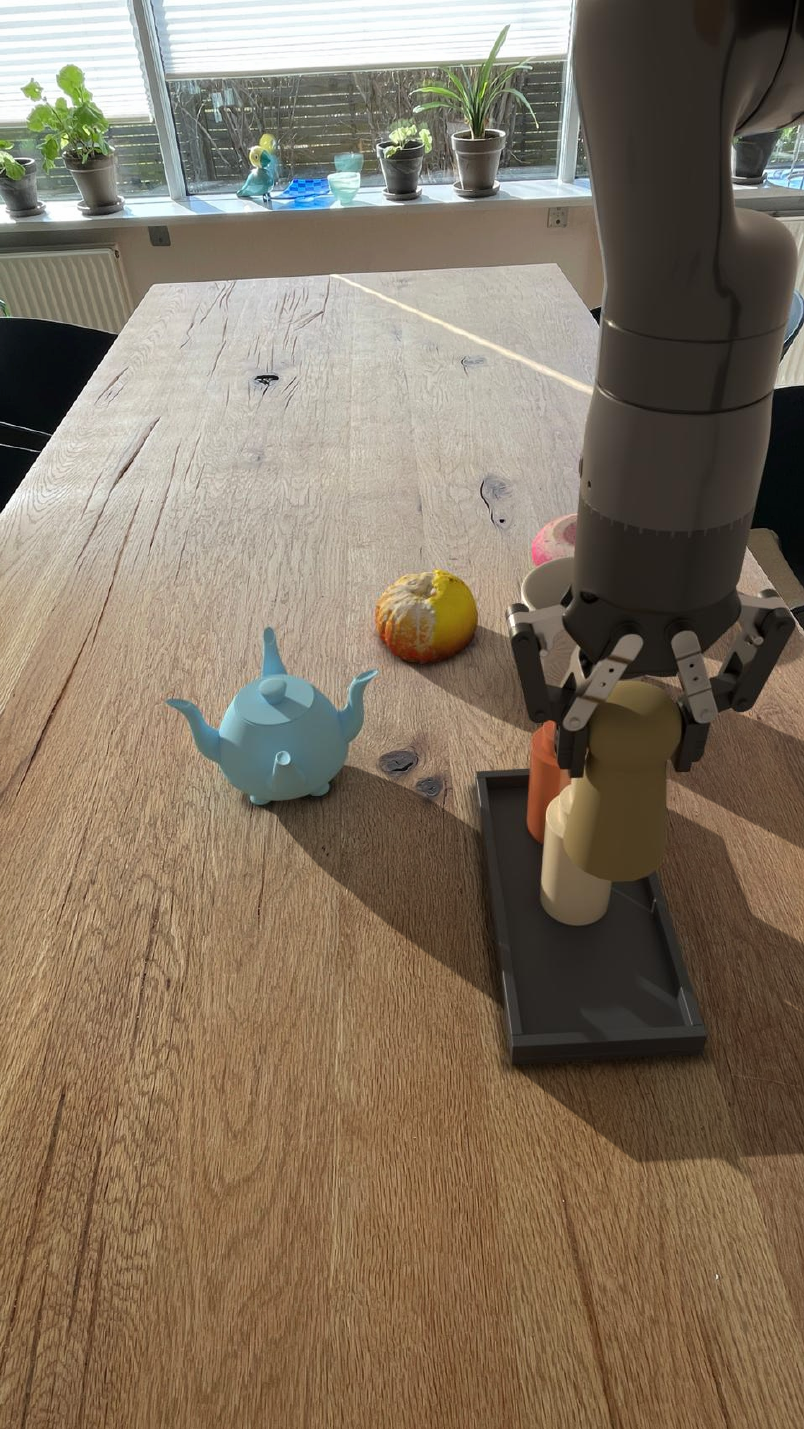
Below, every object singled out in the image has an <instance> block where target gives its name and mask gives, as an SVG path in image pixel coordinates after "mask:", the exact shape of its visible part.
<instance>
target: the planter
mask: <svg viewBox="0 0 804 1429" xmlns="http://www.w3.org/2000/svg"><path fill="white" fill-rule="evenodd" d="M573 562H574V556H566V557H561V558H557V559H553V560H550V561H548V562H545V563H543V564H541V565H539V566H537V567H535V568H533V569H532V570H530V571H529V573H528V574H527V575H526V576H525V578H524V579H523V581H522V584H521V587H520V603H522V604H525V605H526V606H527V607H528V608H529V612H530V611H534V610H539V609H543V608H547V607H551V606H555V605H559V604H560V600H561V598H562V596H563V595H564V594H565V592H566V591H567V589H568V588H569V586H570V584H571V581H572V575H573ZM576 646H577V644H576V642H575V641H574V640H573V639H572V638H571V637H570V635H569V634H568V633H567V632H566V630H564V631H561V632H559V633H558V634H557V635H556V636H555V638H554V646H553V648H552V650H551V651H550V652H549V655H548V656H547V657H545V658H541V657H540V659H541V663H542V668H543V673H544V677H545V682H546V684H548V685H553V686H557V687H559V685H560V683H561V681H562V680H563V678H564V676H565V674H566V673H567V671H568V669H569V667H570V660H571V656H572V653H573V651H574V650H575V648H576ZM643 678H644V676H640V677H636V678H632V679H626V680H618V681H639V682H642V680H643Z"/></svg>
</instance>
